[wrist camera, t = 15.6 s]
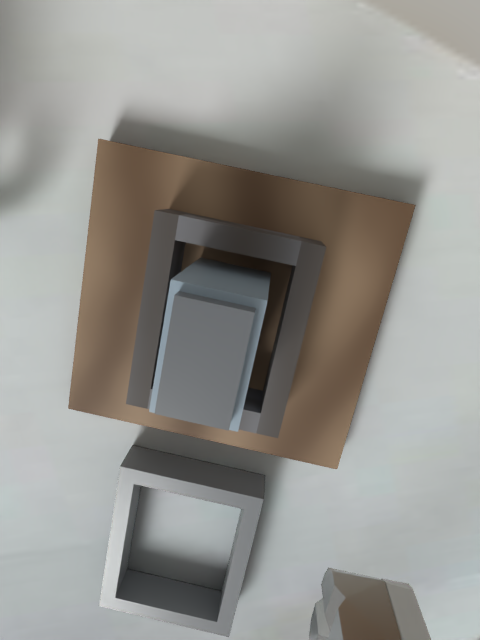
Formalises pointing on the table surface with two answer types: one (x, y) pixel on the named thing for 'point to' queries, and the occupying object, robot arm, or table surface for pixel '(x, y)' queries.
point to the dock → (247, 251)
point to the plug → (209, 343)
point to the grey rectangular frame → (166, 594)
